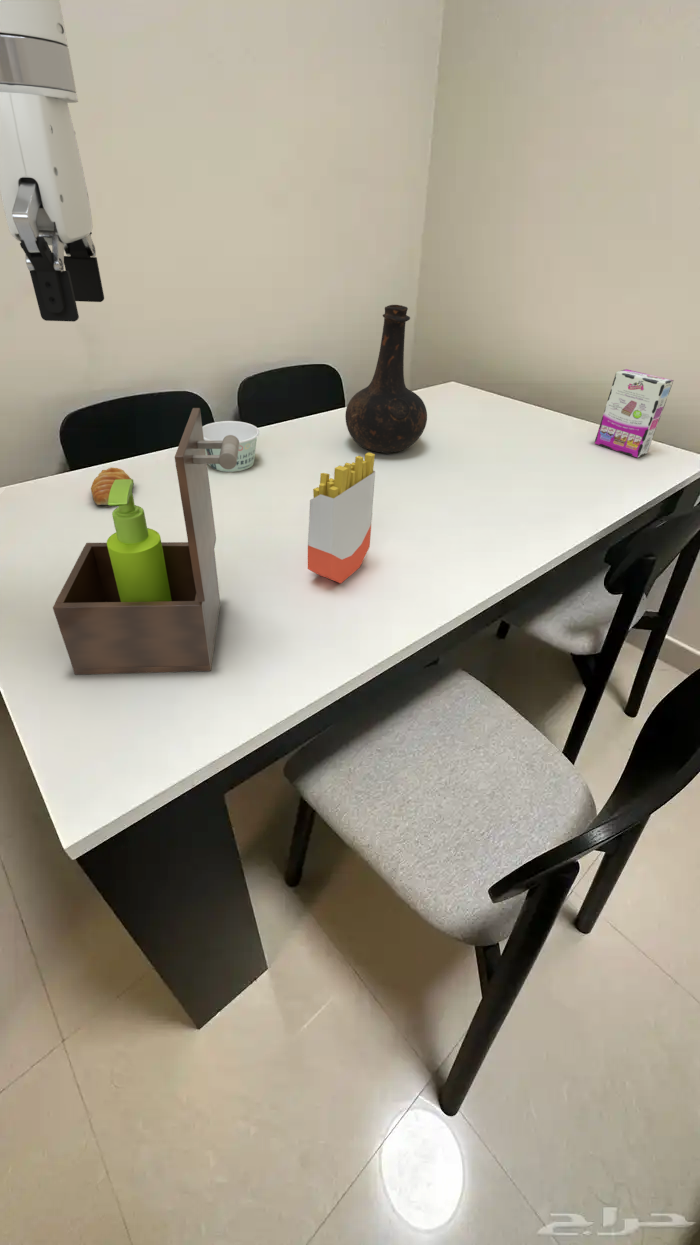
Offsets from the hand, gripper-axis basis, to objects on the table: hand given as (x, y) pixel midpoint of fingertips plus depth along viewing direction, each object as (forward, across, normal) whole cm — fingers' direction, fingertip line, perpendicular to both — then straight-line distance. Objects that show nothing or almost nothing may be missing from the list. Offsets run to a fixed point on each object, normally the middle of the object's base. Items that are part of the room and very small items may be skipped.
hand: (75, 310), depth 58 cm
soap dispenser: (+36, +7, +3) cm, 36 cm away
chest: (+36, +7, +3) cm, 37 cm away
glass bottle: (+36, -59, +42) cm, 81 cm away
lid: (+18, +7, +10) cm, 22 cm away
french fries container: (+36, -8, +28) cm, 47 cm away
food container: (+36, -49, +9) cm, 62 cm away
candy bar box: (+36, -59, +98) cm, 120 cm away
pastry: (+36, -34, -11) cm, 51 cm away
